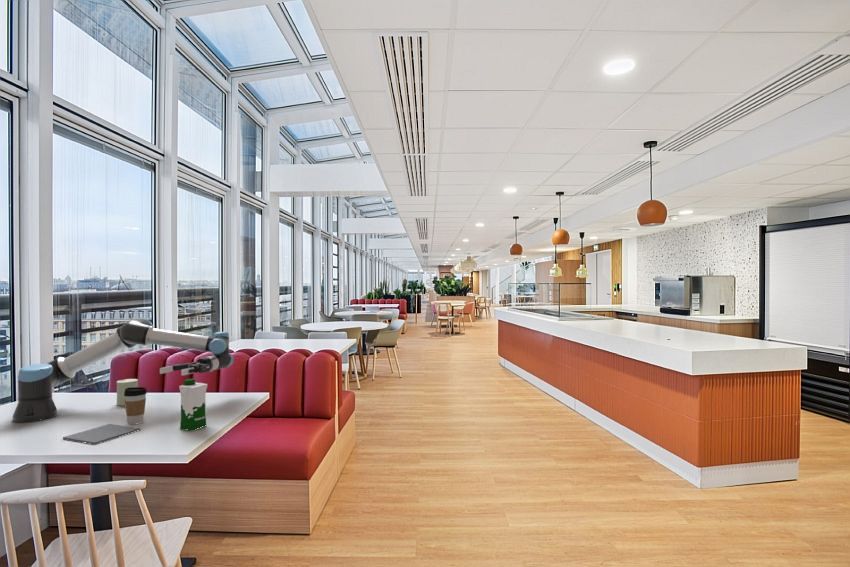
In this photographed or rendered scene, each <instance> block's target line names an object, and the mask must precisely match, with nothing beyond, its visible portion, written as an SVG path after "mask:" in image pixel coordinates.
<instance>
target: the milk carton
mask: <svg viewBox="0 0 850 567" xmlns="http://www.w3.org/2000/svg"><path fill="white" fill-rule="evenodd" d="M178 387H179V388H178V389H179V391H180V392H179V394H180V425H179V429H180V430H183V429H188V430H187V431H190V430H194V431H196V430H195V429H197V428H200V427H202V426H205V425H206V426H207V416H206V393H207V389H208V383H203V382H196V378H185V379H184V384H181V385H179V386H178ZM206 426H205V427H206ZM202 428H203V427H202ZM200 429H201V428H200ZM197 430H198V429H197Z"/></svg>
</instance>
